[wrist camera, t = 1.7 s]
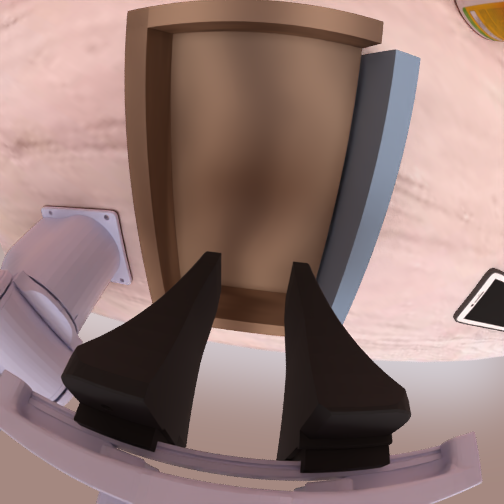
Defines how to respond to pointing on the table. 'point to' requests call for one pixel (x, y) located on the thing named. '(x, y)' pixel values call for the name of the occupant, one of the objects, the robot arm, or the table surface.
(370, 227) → the panel
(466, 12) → the supplement bottle
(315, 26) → the brown drawer
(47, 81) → the table surface
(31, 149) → the table surface
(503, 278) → the cell phone
